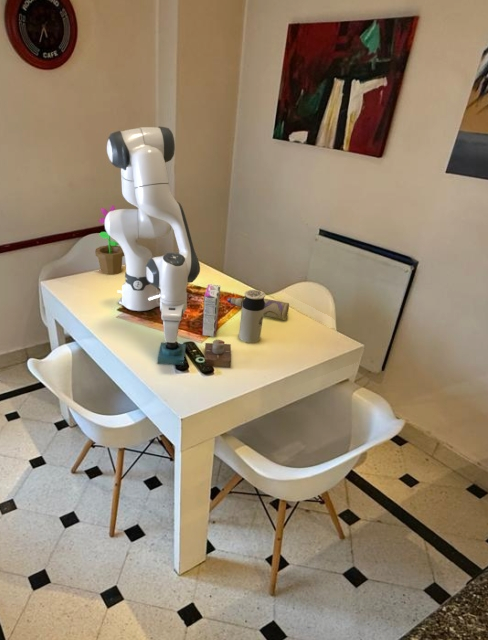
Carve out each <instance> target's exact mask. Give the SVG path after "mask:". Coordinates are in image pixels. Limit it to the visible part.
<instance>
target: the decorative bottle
mask: <svg viewBox="0 0 488 640" xmlns="http://www.w3.org/2000/svg"><path fill="white" fill-rule="evenodd" d="M244 299H245V298H243V297H228V298H227V300H226V301H227V303H229V304H230V305H232V306H236V307H237V308H241V309H242V304H243V300H244ZM264 301H265V307H264V314H263V316H265V317H270V318H274V319H279V320H286V319H287V317H288V315H289V310H290V303H289V302H284V301H280V300H275V299H269V298H264Z"/></svg>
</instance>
